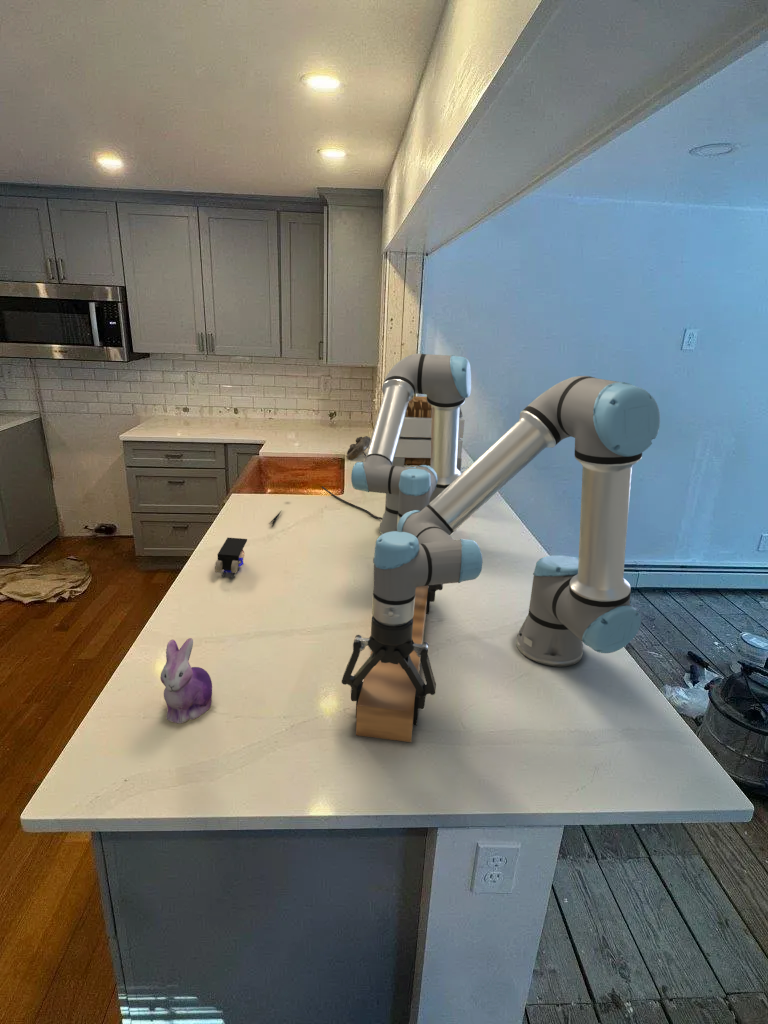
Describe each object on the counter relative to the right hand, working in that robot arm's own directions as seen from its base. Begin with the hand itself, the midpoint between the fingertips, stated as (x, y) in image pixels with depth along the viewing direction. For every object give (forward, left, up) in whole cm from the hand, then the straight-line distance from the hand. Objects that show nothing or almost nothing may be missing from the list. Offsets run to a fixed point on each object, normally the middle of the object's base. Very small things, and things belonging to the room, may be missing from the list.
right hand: (386, 717), depth 109 cm
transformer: (-114, -135, -1) cm, 176 cm away
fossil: (-105, -176, -1) cm, 205 cm away
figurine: (+31, -22, -1) cm, 38 cm away
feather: (-30, -113, -1) cm, 117 cm away
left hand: (-28, -31, 0) cm, 42 cm away
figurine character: (+2, -77, -1) cm, 77 cm away
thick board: (-14, -16, -1) cm, 21 cm away
